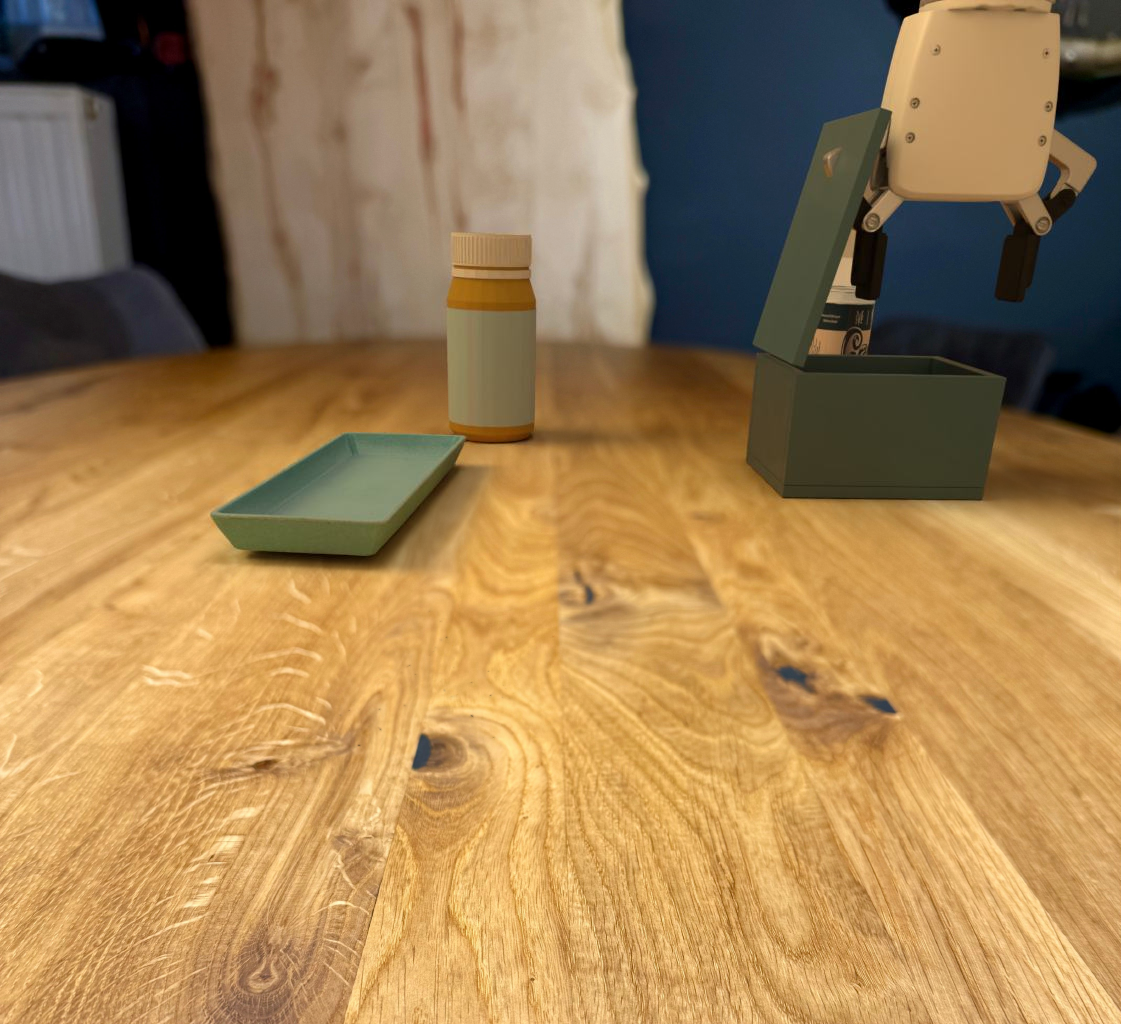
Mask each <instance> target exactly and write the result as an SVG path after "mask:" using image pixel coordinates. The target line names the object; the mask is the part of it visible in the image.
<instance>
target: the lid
mask: <svg viewBox="0 0 1121 1024" xmlns="http://www.w3.org/2000/svg"><path fill="white" fill-rule="evenodd" d="M891 115H892V111H890V110H887V109H884V108H881V107H878V108H873V109H870V110H867V111H862V112H860V113H855V114H852V115H849V116H845V117H841V118H838V119H834V120H831V121H828V122H824V123H823V126H822V129H821V132H820V135H819V138H818V141H817V145H816V147H815V150H814V153H813V157H812V160H811V163H810V166H809V168H808V172H807V175H806V178H805V180H804V184H803V186H802V187H803V188H802V189H801V193H800V196H799V200H798V202H797V205H796V208H795V212H794V215H793V217H792V220H791V224H790V226H789V230H788V233H787V236H786V239H785V242H784V245H783V248H782V251H781V254H780V258H779V260H778V264H777V267H776V270H775V272H774V276H773V279H772V282H771V286H770V289H769V291H768V294H767V298H766V300H765V304H764V306H763V310H762V312H761V316H760V319H759V322H758V325H757V327H756V331H755V335H754V338H753V340H752V346H754V347H756V348H758V349H760V350H762V351H764V352H765V353H770V354H772V355H774V356H776V357H778V358H780V359H782V360H784V361H786V362H788V363H790V364H792V365H796V366H799V367H804V364H805V362H806V359H807V356H808V353H809V350H810V347H811V344H812V342H813V339H814V336H815V333H816V330H817V327H818V324H819V321H820V319H821V316H822V313H823V310H824V307H825V304H826V301H827V299H828V296H829V293H830V290H831V287H832V284H833V281H834V278H835V276H836V273H837V270H838V267H839V264H840V261H841V258H842V256H843V253H844V250H845V247H846V244H847V241H848V238H849V235H850V233H851V230H852V227H853V224H854V221H855V218H856V215H857V213H858V210H859V207H860V204H861V201H862V198H863V195H864V192H865V190H866V187H867V184H868V181H869V178H870V175H871V172H872V169H873V167H874V164H875V161H876V158H877V155H878V152H879V149H880V147H881V144H882V141H883V138H884V135H885V132H886V129H887V126H888V124H889V121H890V118H891ZM839 147H842V149H841V152H840V155H839V158H838V161H837V164H836V167H835V170H834V173H833V176H832V177H827V176H826V173H825V170H824V167H823V162H822V161H823V158H824V156H825V155H826V154H827V153H828V152H830V151H832V150H834V149H836V148H839Z"/></svg>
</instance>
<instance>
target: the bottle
mask: <svg viewBox="0 0 1121 1024" xmlns="http://www.w3.org/2000/svg"><path fill="white" fill-rule="evenodd" d="M532 245H533V238H532V234H527V233H506V232H505V233H504V232H469V231H468V232H463V231H461V232H460V231H459V232H457V231H454V232H453V231H452V232H451V235H450V262H451V265H452V266H453V267H452V266H451V276H452V279H451V282H450V286H449V289H448V292H447V297H446V306H445V307H446V351H447V352H446V355H447V357H446V359H447V360H446V361H447V402H448V403H447V405H448V410H447V411H448V427H449V429H450V430H451V432H452V433H453V435H463V436H466V441H470V442H479V443H510V442H517V441H523V440H525V439H528V438H529V437H530V435H531V434H532V432H533V431H534V429H535V421H536V369H537V368H536V367H537V365H536V362H537V361H536V359H537V358H536V357H537V355H536V354H537V300H536V299H537V298H536V295H535V291H534V288H533V285H532V282H531V278H532V269H530V267H531V265H532V261H533V259H532V257H533V254H532V253H533V252H532V250H533V246H532Z"/></svg>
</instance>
